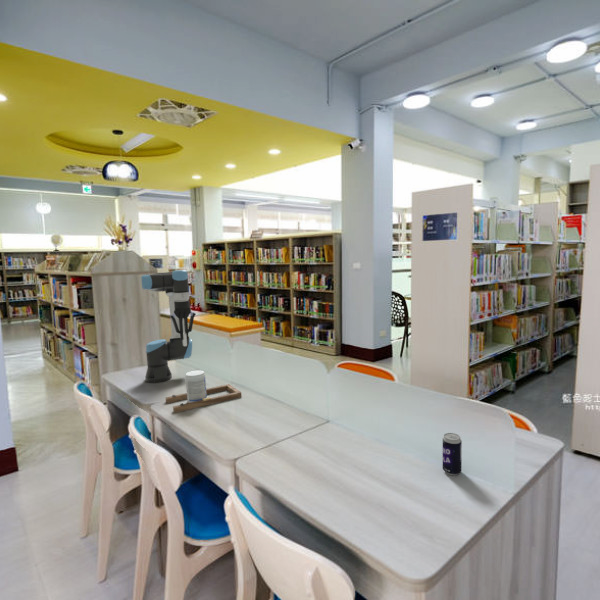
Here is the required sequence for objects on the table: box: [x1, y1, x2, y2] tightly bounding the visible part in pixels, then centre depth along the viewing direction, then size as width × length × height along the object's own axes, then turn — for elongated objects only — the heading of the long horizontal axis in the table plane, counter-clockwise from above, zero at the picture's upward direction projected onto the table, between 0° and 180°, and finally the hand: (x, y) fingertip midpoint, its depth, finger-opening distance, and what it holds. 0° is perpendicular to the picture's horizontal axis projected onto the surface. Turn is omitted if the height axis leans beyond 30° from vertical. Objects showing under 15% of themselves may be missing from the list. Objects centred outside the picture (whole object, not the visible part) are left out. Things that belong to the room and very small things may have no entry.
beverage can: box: [442, 432, 463, 476], centre depth 127 cm, size 6×6×12 cm
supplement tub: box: [185, 369, 208, 403], centre depth 199 cm, size 10×10×15 cm
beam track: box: [165, 383, 243, 413], centre depth 202 cm, size 17×34×3 cm, turn 122°
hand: (184, 345), depth 205 cm, fingers closed
